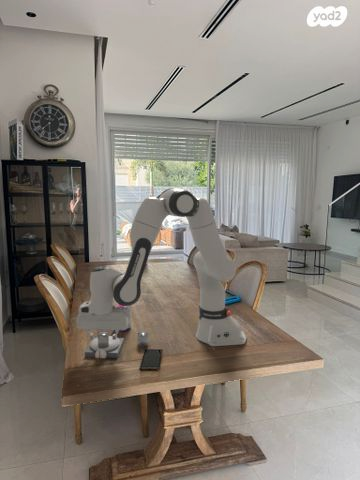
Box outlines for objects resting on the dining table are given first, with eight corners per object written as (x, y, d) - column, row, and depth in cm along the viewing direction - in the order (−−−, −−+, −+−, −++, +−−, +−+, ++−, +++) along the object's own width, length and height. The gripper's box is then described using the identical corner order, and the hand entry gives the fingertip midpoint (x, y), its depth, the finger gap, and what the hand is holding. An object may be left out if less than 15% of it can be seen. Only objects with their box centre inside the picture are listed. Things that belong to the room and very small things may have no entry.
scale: (124, 344, 142) (123, 334, 141) (117, 361, 128) (116, 350, 128) (94, 343, 142) (94, 334, 141) (84, 360, 129) (83, 349, 128)
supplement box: (122, 325, 159) (122, 302, 157) (131, 328, 155) (130, 305, 154) (113, 329, 155) (113, 306, 153) (121, 332, 151) (121, 309, 149)
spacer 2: (148, 342, 142) (148, 331, 141) (147, 347, 138) (147, 336, 137) (138, 342, 142) (138, 331, 141) (137, 346, 138) (136, 335, 137)
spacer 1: (110, 343, 134) (110, 332, 133) (107, 348, 130) (107, 336, 129) (99, 343, 134) (99, 331, 134) (96, 348, 130) (96, 336, 129)
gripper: (129, 303, 132) (130, 335, 134) (79, 302, 133) (81, 334, 135) (126, 309, 126) (127, 343, 128) (74, 308, 126) (75, 341, 129)
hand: (103, 338), depth 131 cm, fingers open, 8 cm apart
